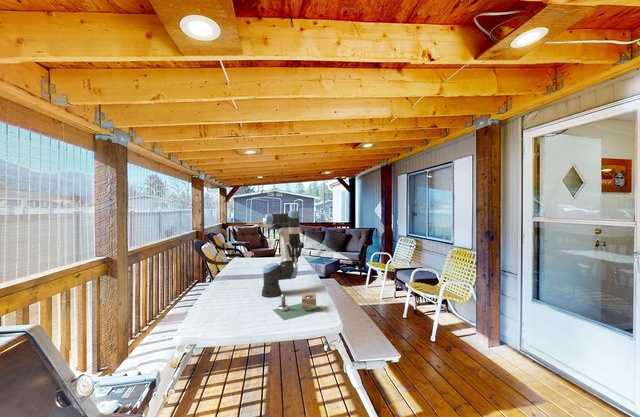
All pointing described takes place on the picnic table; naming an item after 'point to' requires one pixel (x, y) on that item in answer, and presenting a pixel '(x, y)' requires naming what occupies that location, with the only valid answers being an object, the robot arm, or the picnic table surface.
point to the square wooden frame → (309, 301)
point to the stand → (283, 304)
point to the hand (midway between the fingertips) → (295, 267)
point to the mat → (295, 312)
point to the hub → (309, 308)
